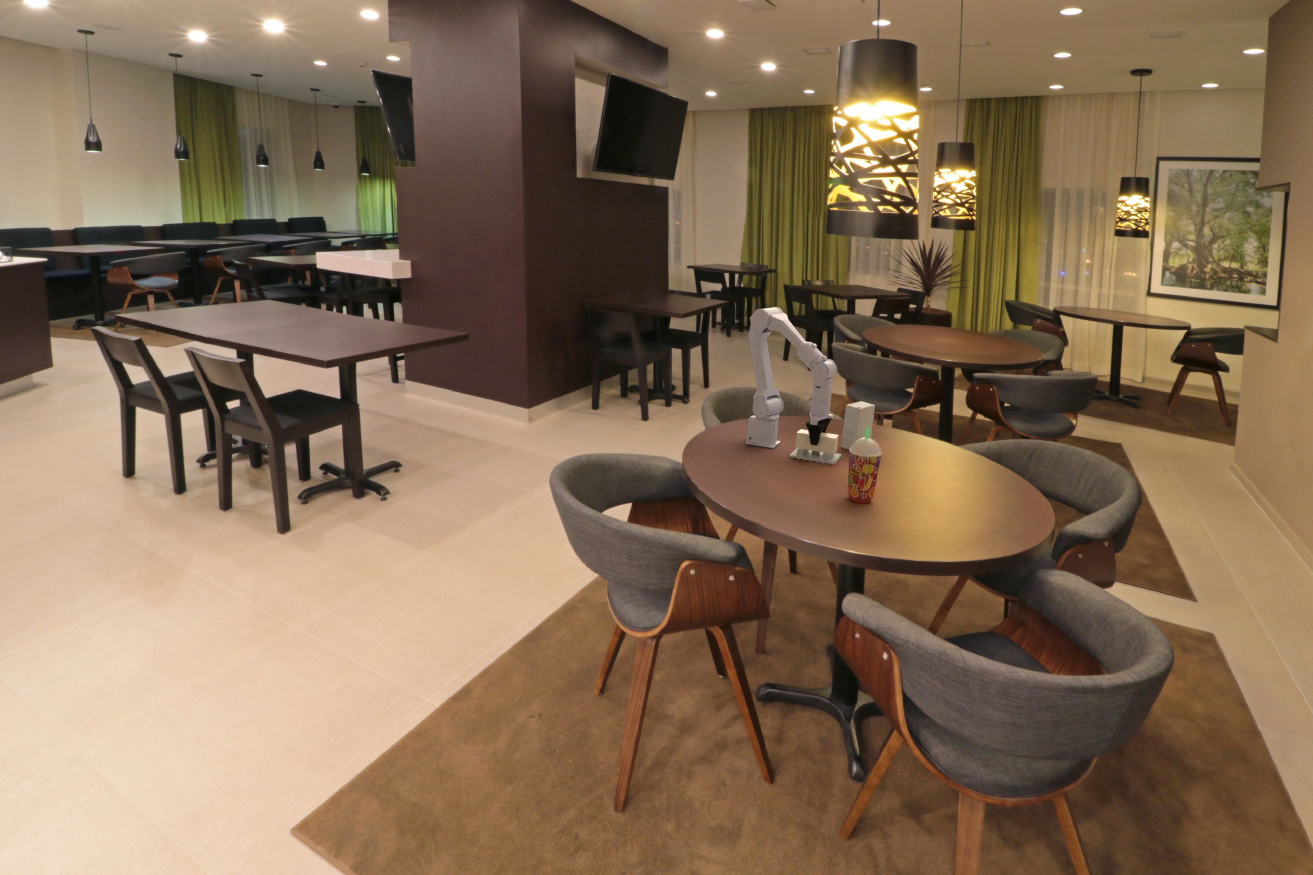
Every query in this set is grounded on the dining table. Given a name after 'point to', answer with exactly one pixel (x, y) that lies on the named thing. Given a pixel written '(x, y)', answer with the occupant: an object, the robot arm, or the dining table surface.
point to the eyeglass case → (825, 444)
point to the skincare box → (857, 422)
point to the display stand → (815, 456)
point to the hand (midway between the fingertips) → (816, 442)
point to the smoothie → (863, 469)
